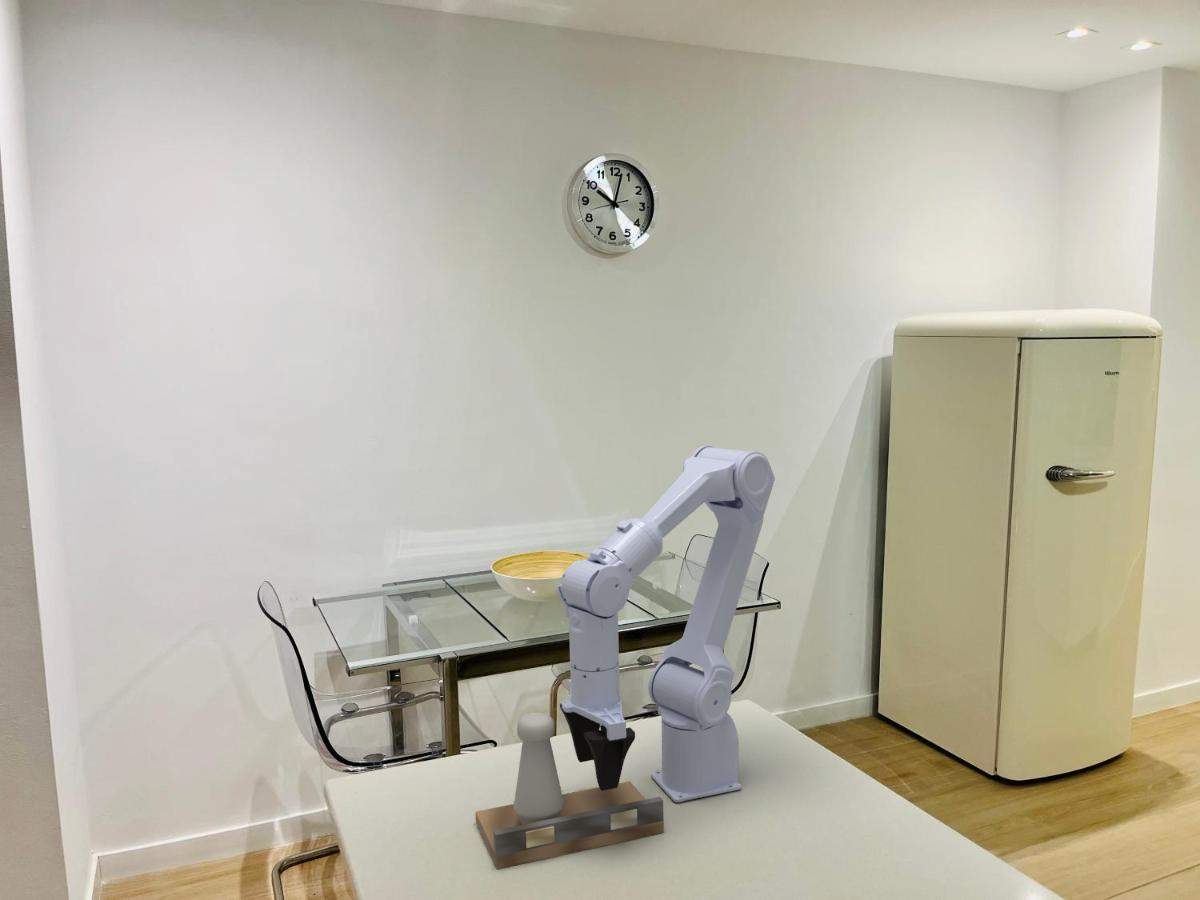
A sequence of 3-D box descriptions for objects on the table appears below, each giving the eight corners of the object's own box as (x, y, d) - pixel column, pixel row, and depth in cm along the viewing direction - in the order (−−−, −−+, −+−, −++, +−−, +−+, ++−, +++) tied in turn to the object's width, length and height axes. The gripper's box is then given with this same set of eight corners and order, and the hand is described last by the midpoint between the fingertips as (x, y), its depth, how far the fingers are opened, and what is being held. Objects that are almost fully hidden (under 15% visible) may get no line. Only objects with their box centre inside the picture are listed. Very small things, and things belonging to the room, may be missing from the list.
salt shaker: (569, 813, 111) (567, 709, 109) (555, 839, 105) (552, 729, 104) (523, 808, 112) (519, 705, 111) (507, 833, 107) (503, 724, 105)
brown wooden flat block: (630, 792, 119) (629, 762, 118) (664, 833, 109) (663, 801, 108) (475, 823, 112) (474, 791, 111) (497, 870, 102) (496, 835, 101)
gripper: (543, 648, 114) (547, 754, 116) (582, 689, 101) (585, 808, 102) (598, 640, 116) (600, 744, 118) (642, 680, 103) (644, 796, 105)
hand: (597, 773), depth 110 cm, fingers open, 7 cm apart
